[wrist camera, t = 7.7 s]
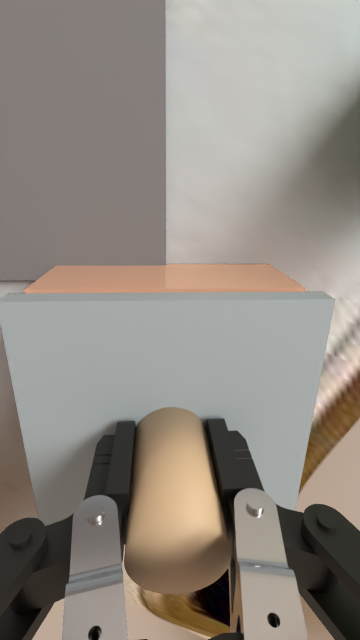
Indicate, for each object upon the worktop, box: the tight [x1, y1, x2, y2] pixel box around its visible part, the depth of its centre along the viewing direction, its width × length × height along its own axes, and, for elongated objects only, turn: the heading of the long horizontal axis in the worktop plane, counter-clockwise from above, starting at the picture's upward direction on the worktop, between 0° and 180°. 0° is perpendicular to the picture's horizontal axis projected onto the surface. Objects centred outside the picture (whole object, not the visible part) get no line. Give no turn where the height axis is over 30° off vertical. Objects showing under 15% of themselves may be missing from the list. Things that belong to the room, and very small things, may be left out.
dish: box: [24, 264, 305, 293], centre depth 18 cm, size 12×12×5 cm
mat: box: [0, 0, 166, 281], centre depth 15 cm, size 16×12×1 cm
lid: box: [0, 292, 335, 594], centre depth 12 cm, size 12×12×6 cm
